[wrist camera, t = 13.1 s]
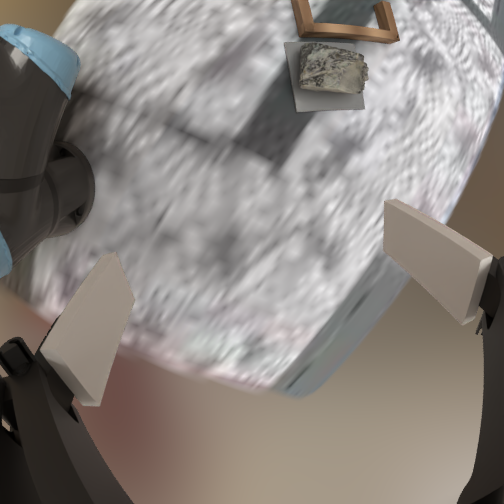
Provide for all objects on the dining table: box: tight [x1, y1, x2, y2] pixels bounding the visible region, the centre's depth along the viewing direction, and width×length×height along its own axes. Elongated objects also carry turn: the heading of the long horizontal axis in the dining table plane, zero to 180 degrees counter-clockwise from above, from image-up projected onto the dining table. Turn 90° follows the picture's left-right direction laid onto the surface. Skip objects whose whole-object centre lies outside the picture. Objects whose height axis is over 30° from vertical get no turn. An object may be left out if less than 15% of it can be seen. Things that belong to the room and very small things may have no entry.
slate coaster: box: [284, 42, 365, 112], centre depth 34 cm, size 11×11×1 cm
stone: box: [299, 42, 368, 94], centre depth 30 cm, size 10×10×10 cm
